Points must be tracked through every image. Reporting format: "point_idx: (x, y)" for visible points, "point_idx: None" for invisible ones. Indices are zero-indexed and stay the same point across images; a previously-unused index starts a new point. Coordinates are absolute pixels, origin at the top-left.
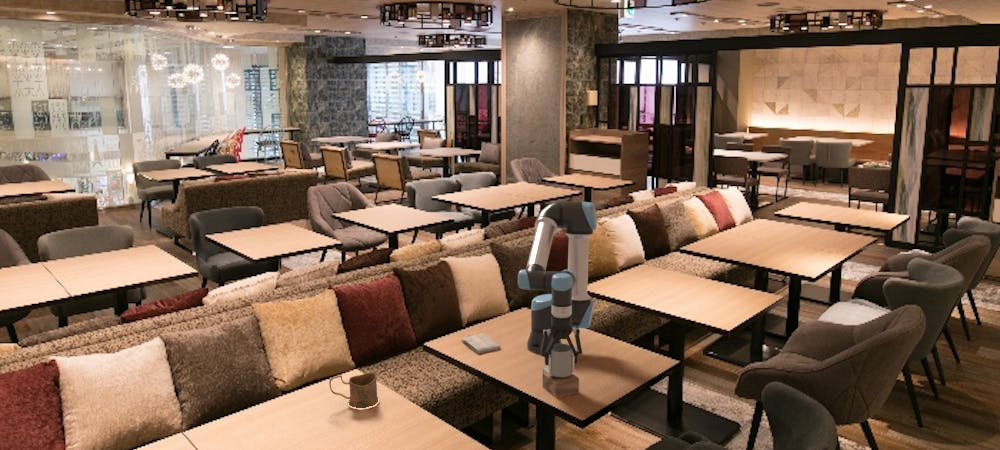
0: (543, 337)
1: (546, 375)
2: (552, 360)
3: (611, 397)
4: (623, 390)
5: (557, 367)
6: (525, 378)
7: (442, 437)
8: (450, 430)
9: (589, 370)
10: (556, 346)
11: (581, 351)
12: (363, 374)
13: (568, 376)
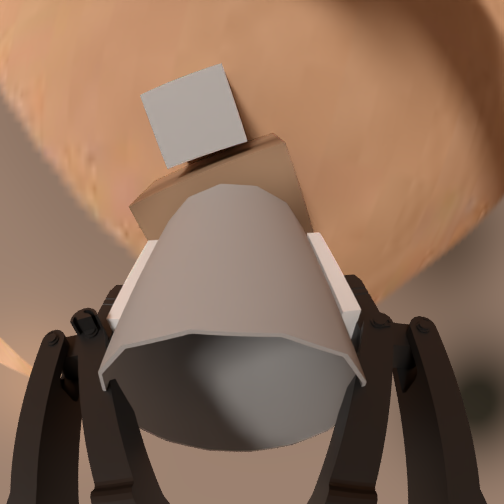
0: (25, 482)
1: (150, 237)
2: (159, 356)
3: (397, 285)
4: (448, 243)
5: (200, 344)
6: (88, 91)
7: (24, 369)
8: (21, 358)
9: (410, 46)
10: (180, 304)
11: (412, 369)
12: None
13: None
